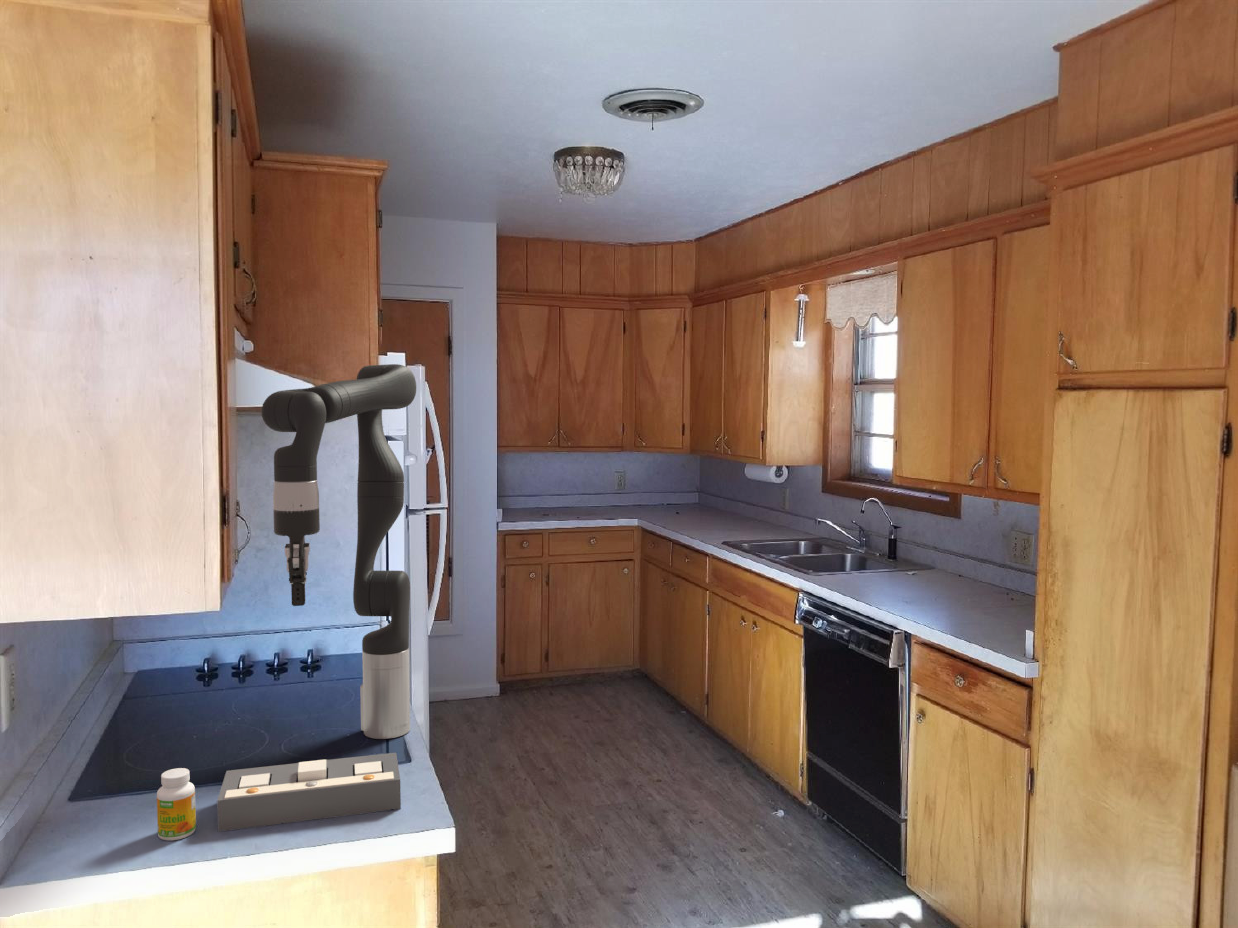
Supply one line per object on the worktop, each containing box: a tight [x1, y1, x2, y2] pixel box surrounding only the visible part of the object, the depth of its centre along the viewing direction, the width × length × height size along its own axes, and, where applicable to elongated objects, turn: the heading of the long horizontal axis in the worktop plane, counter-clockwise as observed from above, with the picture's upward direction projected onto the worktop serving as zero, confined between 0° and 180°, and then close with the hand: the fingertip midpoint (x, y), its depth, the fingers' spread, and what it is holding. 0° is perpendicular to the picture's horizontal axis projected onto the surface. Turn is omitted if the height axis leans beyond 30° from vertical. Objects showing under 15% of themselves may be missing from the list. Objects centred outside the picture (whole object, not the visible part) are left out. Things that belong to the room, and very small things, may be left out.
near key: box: [239, 773, 270, 789], centre depth 149 cm, size 4×4×3 cm
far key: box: [355, 761, 382, 776], centre depth 155 cm, size 4×4×3 cm
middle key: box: [298, 759, 327, 782], centre depth 152 cm, size 4×4×3 cm
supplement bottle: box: [156, 767, 197, 842], centre depth 142 cm, size 5×5×10 cm
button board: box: [216, 752, 402, 833], centre depth 152 cm, size 28×12×5 cm, turn 107°
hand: (298, 604), depth 159 cm, fingers closed
